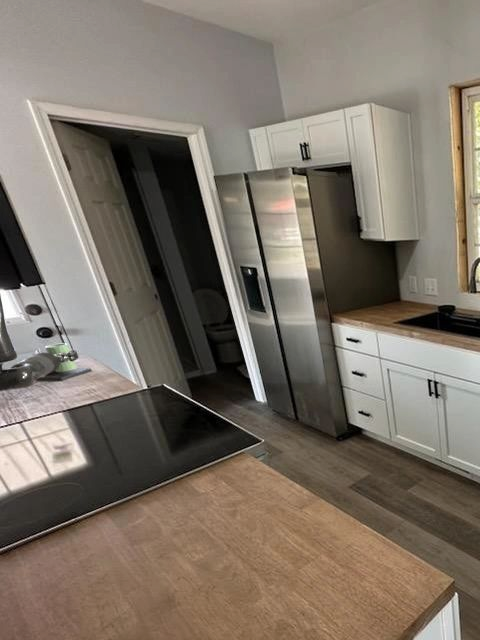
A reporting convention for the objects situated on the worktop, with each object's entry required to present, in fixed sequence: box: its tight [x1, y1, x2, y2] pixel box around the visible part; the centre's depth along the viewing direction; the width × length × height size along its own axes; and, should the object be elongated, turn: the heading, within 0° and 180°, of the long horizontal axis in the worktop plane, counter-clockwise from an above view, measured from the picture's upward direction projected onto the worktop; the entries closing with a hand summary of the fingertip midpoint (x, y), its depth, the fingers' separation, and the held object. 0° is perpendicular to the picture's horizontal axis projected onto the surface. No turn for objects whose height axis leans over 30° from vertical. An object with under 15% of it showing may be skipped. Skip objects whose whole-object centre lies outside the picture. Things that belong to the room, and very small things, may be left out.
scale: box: [36, 367, 93, 382], centre depth 165 cm, size 13×11×3 cm
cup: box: [44, 342, 78, 372], centre depth 162 cm, size 6×6×10 cm
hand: (63, 353), depth 164 cm, fingers closed on cup, 6 cm apart
